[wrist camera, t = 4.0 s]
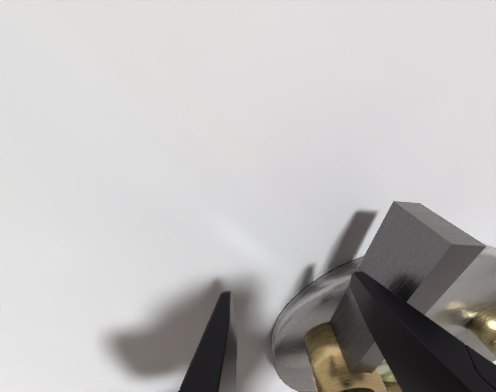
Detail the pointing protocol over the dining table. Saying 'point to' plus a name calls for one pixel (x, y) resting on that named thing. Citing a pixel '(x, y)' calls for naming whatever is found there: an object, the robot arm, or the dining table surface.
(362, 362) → the knob left
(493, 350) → the knob right
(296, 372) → the levelling base
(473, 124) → the dining table surface
